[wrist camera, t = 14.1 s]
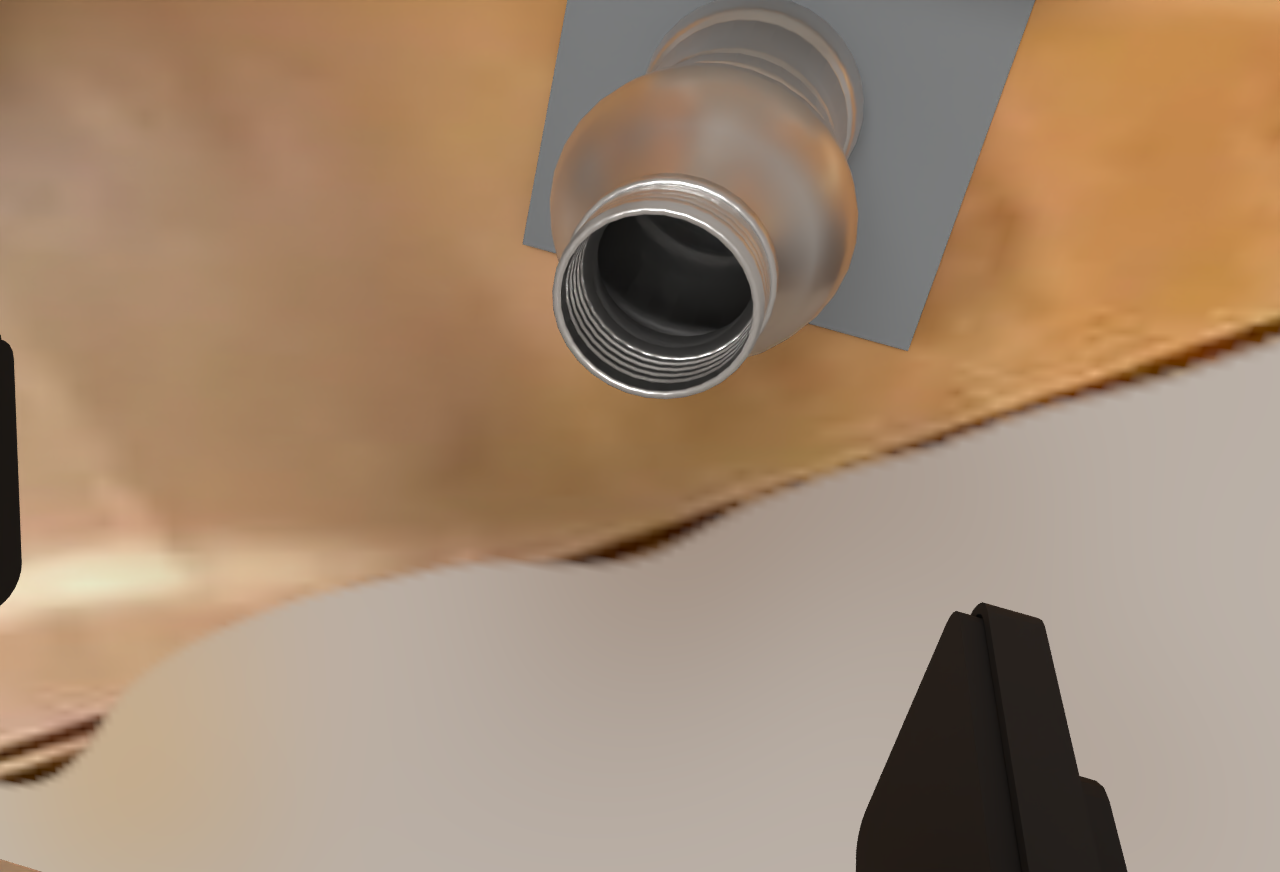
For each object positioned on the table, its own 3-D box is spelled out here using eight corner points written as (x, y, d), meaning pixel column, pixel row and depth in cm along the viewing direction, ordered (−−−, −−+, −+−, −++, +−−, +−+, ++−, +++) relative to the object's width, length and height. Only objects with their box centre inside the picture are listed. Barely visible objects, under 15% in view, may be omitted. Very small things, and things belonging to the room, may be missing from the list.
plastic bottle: (665, -27, 37) (468, 91, 19) (883, -3, 36) (885, 144, 18) (647, 176, 40) (461, 439, 22) (847, 203, 39) (820, 499, 21)
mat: (606, -194, 36) (603, -195, 35) (1061, -78, 35) (1063, -78, 34) (526, 240, 42) (522, 243, 42) (907, 345, 41) (907, 351, 41)
